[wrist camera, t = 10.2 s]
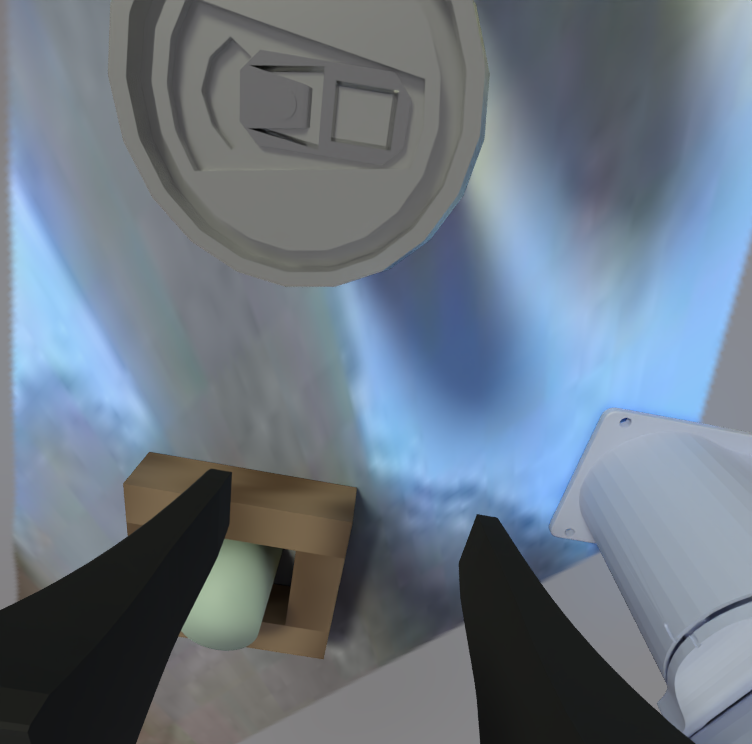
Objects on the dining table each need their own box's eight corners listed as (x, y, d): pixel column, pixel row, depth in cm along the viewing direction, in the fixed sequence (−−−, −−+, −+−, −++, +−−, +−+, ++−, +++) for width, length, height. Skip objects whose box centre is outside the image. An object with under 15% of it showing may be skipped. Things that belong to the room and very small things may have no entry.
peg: (285, 524, 26) (261, 604, 21) (279, 572, 27) (256, 656, 23) (214, 512, 25) (175, 590, 21) (213, 561, 27) (176, 643, 23)
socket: (356, 487, 24) (352, 522, 22) (329, 619, 29) (323, 659, 27) (149, 451, 24) (123, 483, 21) (156, 592, 28) (136, 629, 26)
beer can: (449, 58, 16) (563, -144, 5) (420, 220, 18) (452, 326, 7) (294, 31, 15) (54, -236, 5) (285, 198, 18) (113, 274, 7)
